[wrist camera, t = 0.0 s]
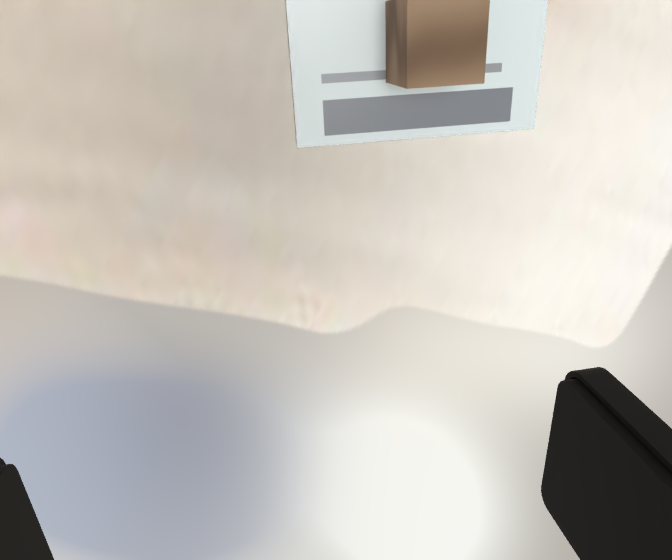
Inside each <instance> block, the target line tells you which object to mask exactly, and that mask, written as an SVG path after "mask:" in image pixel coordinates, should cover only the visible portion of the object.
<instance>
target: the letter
mask: <svg viewBox="0 0 672 560" xmlns="http://www.w3.org/2000/svg"><path fill="white" fill-rule="evenodd" d="M385 1H389V0H286V11H287V24H288V37H289V50H290V63H291V76H292V89H293V102H294V115H295V127H296V140H297V148H304V147H317V146H329V145H341V144H353V143H366V142H378V141H390V140H403V139H415V138H427V137H439V136H452V135H464V134H476V133H488V132H501V131H513V130H525V129H534V123H535V114H536V105H537V96H538V87H539V78H540V69H541V60H542V51H543V42H544V33H545V24H546V15H547V7H548V0H490V8H489V23H488V37H487V52H486V67H485V81H484V84H470V85H455V86H441V87H426V88H411V89H406V88H402V87H399V86H396V85H393V84H389V83H386V19H385Z"/></svg>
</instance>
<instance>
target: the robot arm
mask: <svg viewBox="0 0 672 560" xmlns="http://www.w3.org/2000/svg"><path fill="white" fill-rule="evenodd" d="M541 493H542V497H543V501H544V504H545V505H546V508H547V509H548V511H549V513H550V514H551V516H552V517H553V519H554V520H555V521H556V523H557V525H558V526H559V528H560V529H561V531H562V532H563V534H564V535H565V537H566V539H567V540H568V541H569V543H570V545H571V546H572V548H573V549H574V551H575V552H576V554H577V555H578V557H579V558H580V560H672V429H671V428H670V427H669V426H668V425H667V424H666V423H665V422H664V421H662V420H661V419H660V418H659V417H658V416H657V415H656V414H655V413H654V412H653V411H651V410H650V409H649V408H648V407H647V406H646V405H645V404H644V403H643V402H642V401H641V400H639V399H638V398H637V397H636V396H635V395H634V394H633V393H632V392H631V391H629V390H628V389H627V388H626V387H625V386H624V385H623V384H622V383H621V382H620V381H618V380H617V379H616V378H615V377H614V376H613V375H612V374H611V373H609V372H608V371H607V370H606V369H604V368H601V367H597V368H590V369H583V370H577V371H571V372H569V373H568V374H567V375H566V377H565V380H564V381H561V382H560V383H559V385H558V388H557V394H556V400H555V406H554V412H553V419H552V424H551V431H550V437H549V443H548V449H547V455H546V461H545V468H544V474H543V479H542V485H541ZM0 560H54V558H53V556H52V553H51V551H50V549H49V546H48V543H47V541H46V539H45V536H44V534H43V531H42V529H41V527H40V524H39V521H38V519H37V517H36V514H35V512H34V509H33V507H32V504H31V502H30V499H29V497H28V495H27V492H26V490H25V487H24V485H23V482H22V480H21V477H20V475H19V472H18V470H17V468H16V467H15V466H14V465H13V464H7V465H6V464H5V462H4V461H3V460H2V459H1V458H0Z"/></svg>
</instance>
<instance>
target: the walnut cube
mask: <svg viewBox="0 0 672 560" xmlns="http://www.w3.org/2000/svg"><path fill="white" fill-rule="evenodd" d="M489 8H490V0H389V1H385V19H386V83H389V84H393V85H396V86H399V87H402V88H406V89H411V88H426V87H441V86H455V85H470V84H484V81H485V67H486V52H487V37H488V23H489Z"/></svg>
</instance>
